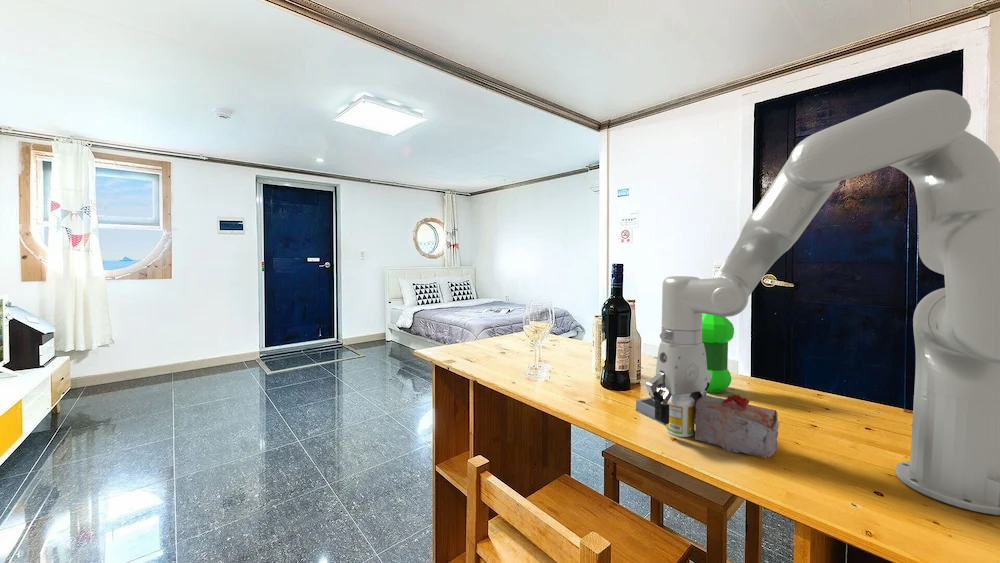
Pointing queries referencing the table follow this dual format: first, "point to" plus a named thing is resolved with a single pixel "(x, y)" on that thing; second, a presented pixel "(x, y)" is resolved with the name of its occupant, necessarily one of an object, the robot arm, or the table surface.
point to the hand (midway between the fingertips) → (679, 417)
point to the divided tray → (647, 407)
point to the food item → (736, 425)
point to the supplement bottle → (681, 415)
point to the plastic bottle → (717, 350)
